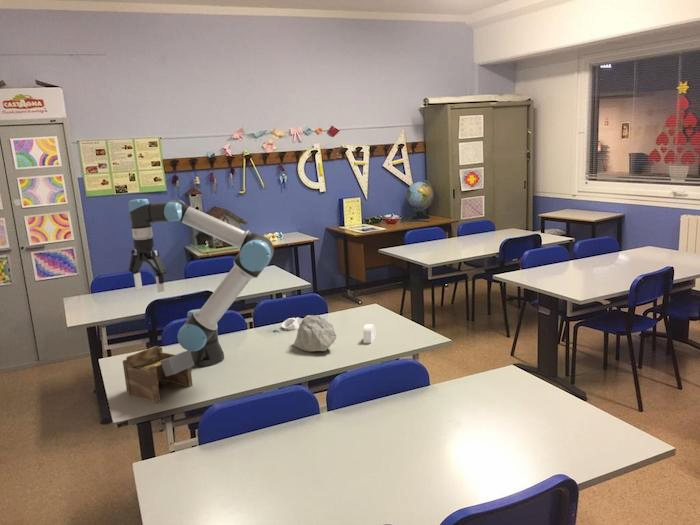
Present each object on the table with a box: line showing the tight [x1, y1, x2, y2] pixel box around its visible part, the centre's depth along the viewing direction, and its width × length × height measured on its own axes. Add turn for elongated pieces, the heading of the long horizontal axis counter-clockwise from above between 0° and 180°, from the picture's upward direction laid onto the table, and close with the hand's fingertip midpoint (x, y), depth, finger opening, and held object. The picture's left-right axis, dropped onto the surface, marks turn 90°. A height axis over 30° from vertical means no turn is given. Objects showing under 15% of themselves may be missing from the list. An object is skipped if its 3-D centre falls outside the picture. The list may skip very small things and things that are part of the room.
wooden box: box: [122, 345, 193, 404], centre depth 221 cm, size 17×17×15 cm
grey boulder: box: [292, 314, 337, 352], centre depth 256 cm, size 22×13×15 cm, turn 53°
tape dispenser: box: [362, 324, 376, 344], centre depth 264 cm, size 10×18×11 cm, turn 76°
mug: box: [280, 317, 304, 331], centre depth 290 cm, size 12×9×10 cm
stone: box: [133, 356, 167, 367], centre depth 218 cm, size 13×5×2 cm, turn 134°
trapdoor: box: [143, 350, 195, 376], centre depth 217 cm, size 13×21×6 cm, turn 57°
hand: (149, 290), depth 231 cm, fingers open, 13 cm apart
